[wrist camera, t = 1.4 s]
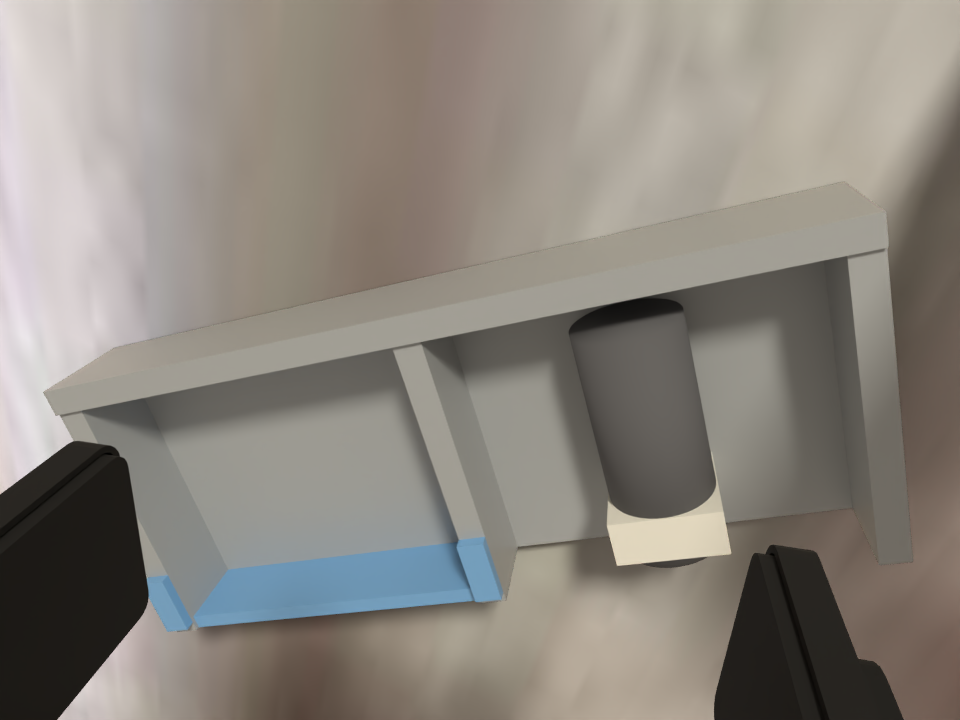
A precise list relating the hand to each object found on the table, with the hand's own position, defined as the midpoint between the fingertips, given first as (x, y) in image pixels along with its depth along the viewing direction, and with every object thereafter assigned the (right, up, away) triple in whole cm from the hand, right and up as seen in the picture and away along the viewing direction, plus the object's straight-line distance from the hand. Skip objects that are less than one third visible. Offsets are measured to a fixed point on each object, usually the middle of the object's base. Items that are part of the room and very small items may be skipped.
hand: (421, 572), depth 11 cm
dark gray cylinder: (+8, 0, +19) cm, 20 cm away
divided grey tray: (0, +1, +24) cm, 24 cm away
